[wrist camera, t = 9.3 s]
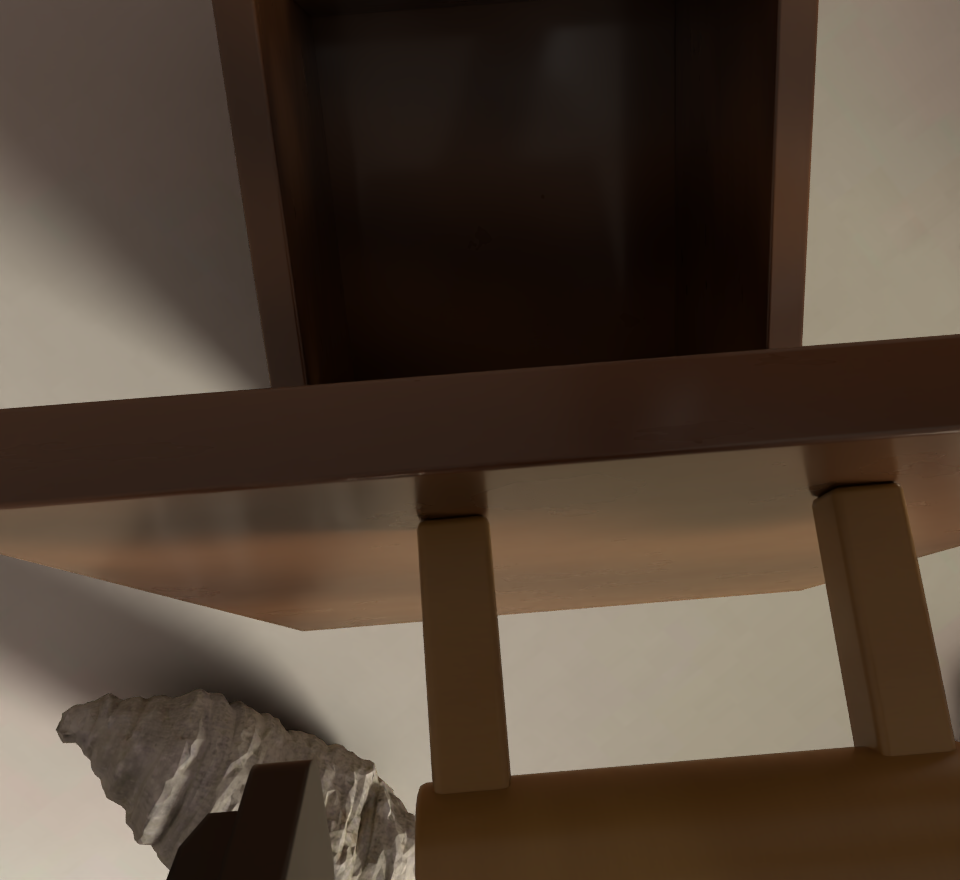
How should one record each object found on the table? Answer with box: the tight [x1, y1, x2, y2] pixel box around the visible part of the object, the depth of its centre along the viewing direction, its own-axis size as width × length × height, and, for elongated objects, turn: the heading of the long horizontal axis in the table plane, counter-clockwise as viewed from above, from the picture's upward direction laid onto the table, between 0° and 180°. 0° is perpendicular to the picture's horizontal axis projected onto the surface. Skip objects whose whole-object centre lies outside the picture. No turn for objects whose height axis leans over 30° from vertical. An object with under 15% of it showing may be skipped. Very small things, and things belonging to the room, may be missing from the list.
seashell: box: [56, 689, 415, 880], centre depth 33 cm, size 6×14×8 cm, turn 60°
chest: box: [212, 0, 819, 388], centre depth 25 cm, size 16×13×10 cm
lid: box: [0, 334, 960, 880], centre depth 14 cm, size 17×13×5 cm
